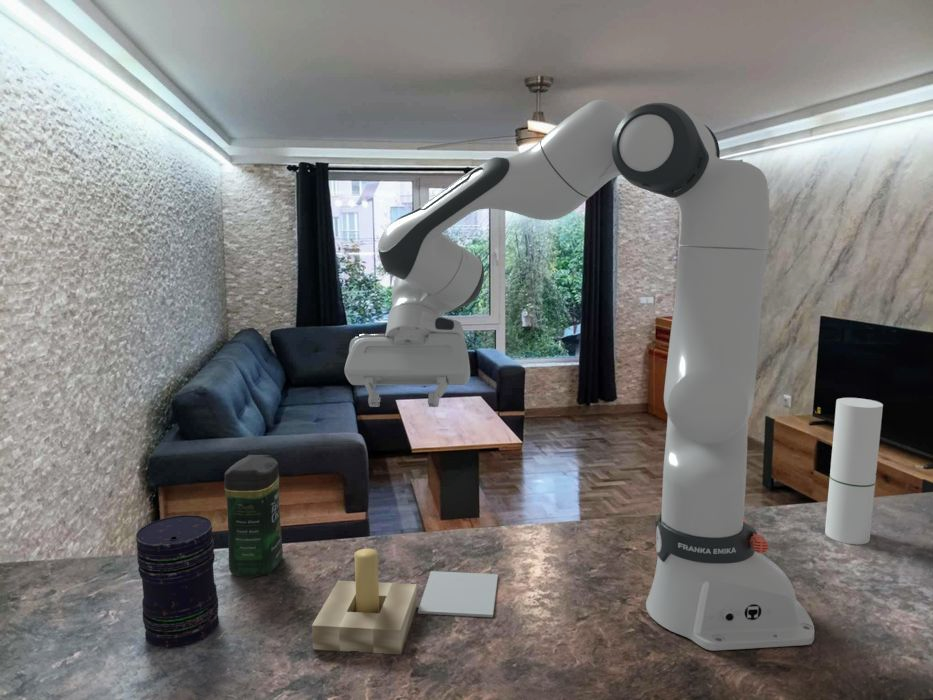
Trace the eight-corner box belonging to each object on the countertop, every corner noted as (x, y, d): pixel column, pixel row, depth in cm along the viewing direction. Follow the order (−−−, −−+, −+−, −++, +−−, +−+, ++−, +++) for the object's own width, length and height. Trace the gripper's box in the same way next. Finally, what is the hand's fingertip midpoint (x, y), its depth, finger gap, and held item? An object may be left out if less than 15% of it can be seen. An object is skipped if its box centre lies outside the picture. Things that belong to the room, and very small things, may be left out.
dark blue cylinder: (147, 617, 100) (138, 520, 97) (219, 604, 103) (212, 510, 101) (141, 656, 90) (131, 550, 88) (220, 640, 94) (212, 538, 91)
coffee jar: (272, 580, 110) (265, 470, 107) (223, 579, 110) (215, 469, 107) (289, 552, 120) (283, 450, 117) (244, 552, 120) (237, 450, 117)
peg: (382, 620, 98) (379, 548, 97) (376, 633, 95) (374, 559, 93) (360, 619, 99) (357, 548, 97) (354, 632, 96) (351, 558, 94)
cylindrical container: (870, 532, 126) (883, 400, 122) (868, 547, 120) (882, 409, 116) (826, 524, 130) (838, 396, 125) (823, 538, 124) (834, 404, 119)
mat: (497, 576, 111) (497, 574, 111) (492, 617, 99) (492, 614, 99) (430, 573, 112) (430, 571, 112) (418, 613, 100) (417, 610, 100)
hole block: (417, 605, 102) (416, 584, 102) (400, 654, 90) (400, 630, 90) (338, 601, 103) (337, 580, 103) (313, 649, 92) (311, 625, 91)
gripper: (347, 323, 113) (333, 394, 105) (470, 321, 111) (465, 394, 103) (355, 345, 118) (342, 415, 110) (473, 344, 116) (469, 415, 108)
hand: (403, 405), depth 106 cm, fingers open, 8 cm apart
